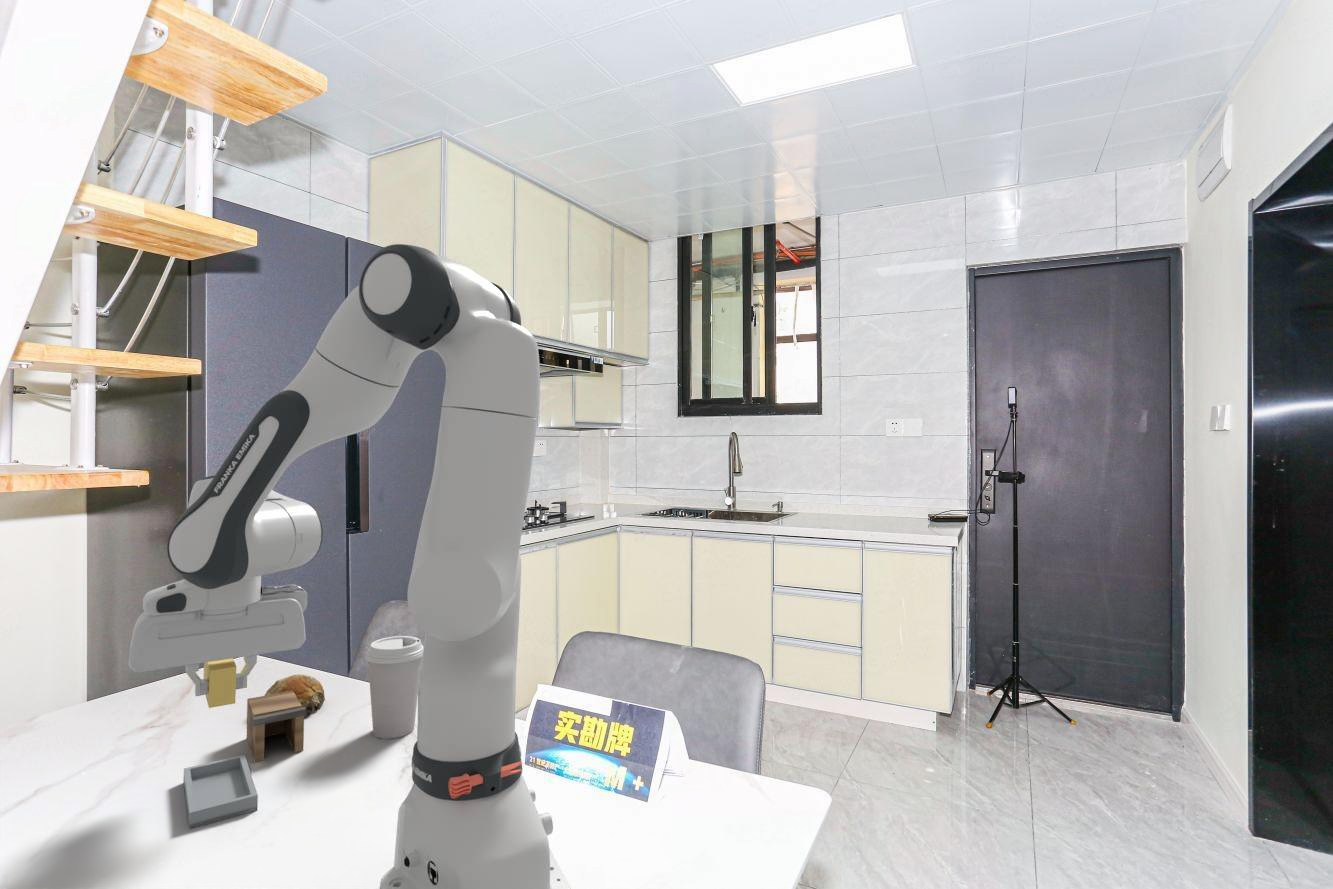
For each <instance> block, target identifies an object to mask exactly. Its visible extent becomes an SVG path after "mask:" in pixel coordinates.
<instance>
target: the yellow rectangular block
mask: <svg viewBox="0 0 1333 889" xmlns="http://www.w3.org/2000/svg"><path fill="white" fill-rule="evenodd" d="M236 674H237V665H236V662H235V659H234V658H232V659H225V660H218V661H212V662H205V663H203V679H207V678H208V681H209V687H208V690H209V693H208V694H206V695H205V698H206V703H207V707H208V709H211V708H216V707H217V708H218V707H223V706H227V705H233V704H236V692H237V691H236V690H237V689H236Z"/></svg>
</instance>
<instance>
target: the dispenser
mask: <svg viewBox="0 0 1333 889" xmlns="http://www.w3.org/2000/svg"><path fill="white" fill-rule="evenodd" d="M264 695H265V694H264ZM264 695H260V696H256V697H250V698H247V700H246V702H247V705H246V706H247V707H246V708H247V709H246V740H247V744H248V746H249V749H250V752H251V755H252V757H253V760H254V762H255V763H256V762H260V761H264V760H265V738H269V737H273V736H277V735H282V734H285V736H286V738H287V739H288V742H289V744H290V746H291V749H292V750H293V752H294V753H299V752H303V751H304V741H305V740H304V738H305V736H304V734H305V733H304V732H305V717H307V716H306V708H305V707H302V705H301V703H300V702H299V700H298V698H297V697H296V695H295V693H294V692H293V691H287V692H282V693H276V694H271V695H265V696H264Z"/></svg>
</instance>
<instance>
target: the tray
mask: <svg viewBox="0 0 1333 889" xmlns="http://www.w3.org/2000/svg"><path fill="white" fill-rule="evenodd" d="M183 789H184V797H185V798H184V799H185V806H186V814H187V822H188V829H189V830H190V829H193V828H197V827H201V826H204V825H209V824H211V823H215V822H219V821H222V820H227V819H231V818H233V817H237V816H240V815H244V814H249V813H252V812H255V811H258V804H259V803H258V802H259V800H258V799H259V797H258V796H259V795H258V792H257V788H256V785H255V782H254V779H253V776H252V772H251V771H250V767H249V764H248V760H247V758H246V754H241V755H237V756H233V757H229V758H223V759H220V760H216V761H210V762H206V763H203V764H198V765H193V766H188V767H186V768H183Z"/></svg>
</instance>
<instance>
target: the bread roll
mask: <svg viewBox="0 0 1333 889" xmlns="http://www.w3.org/2000/svg"><path fill="white" fill-rule="evenodd" d="M287 691H293V692H294V693H295V695H296V697H297V698H298V700H299V702H300V703H301V705H302V707H305V708H306V716H305V717H307V716H310V715H313V714H315V713H317V712H318V711H319V710H320V709H321V708H322V706H323V705H324V702H325V700H326V698H325V690H324V687H323V685H322V684H321V681H319V680H318V679H316V678H315V677H314V676H311V675H310V676H309V675H308V674H307V675H306V674H293V675H290V676H287V677H284V678H281V679H277V680H276V681H275V682H274V683H273V685H271V686H270V687H269V688H268V690H267V691H266V692H265V694H264V695H263V696H265V695H271V694H276V693H282V692H287Z"/></svg>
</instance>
